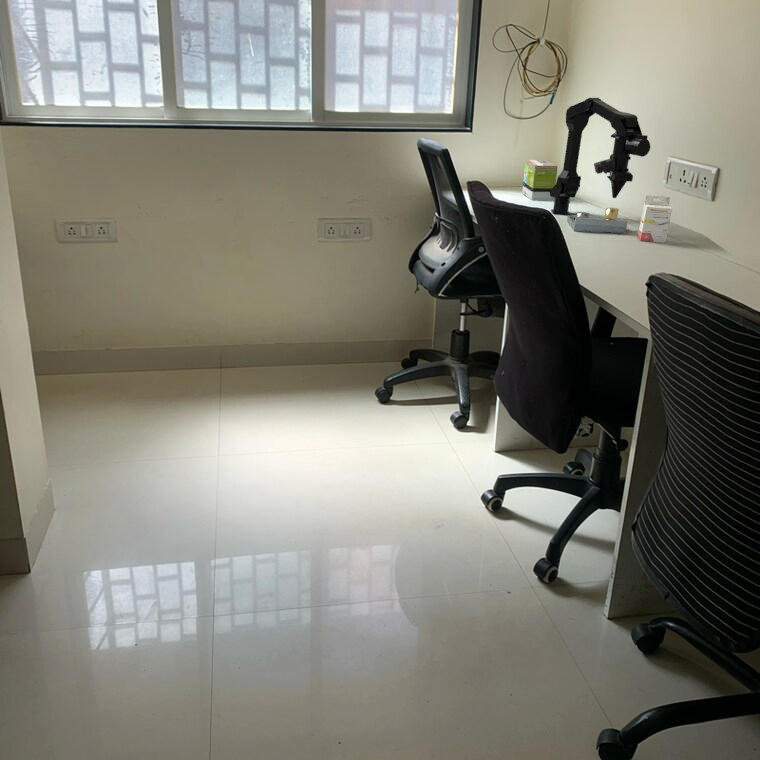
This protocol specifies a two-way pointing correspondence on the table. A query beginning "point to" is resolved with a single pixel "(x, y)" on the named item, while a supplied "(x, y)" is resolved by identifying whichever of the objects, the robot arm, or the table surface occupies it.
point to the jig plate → (597, 224)
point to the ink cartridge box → (655, 219)
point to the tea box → (539, 179)
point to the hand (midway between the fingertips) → (614, 197)
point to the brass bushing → (611, 213)
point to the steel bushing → (582, 215)
